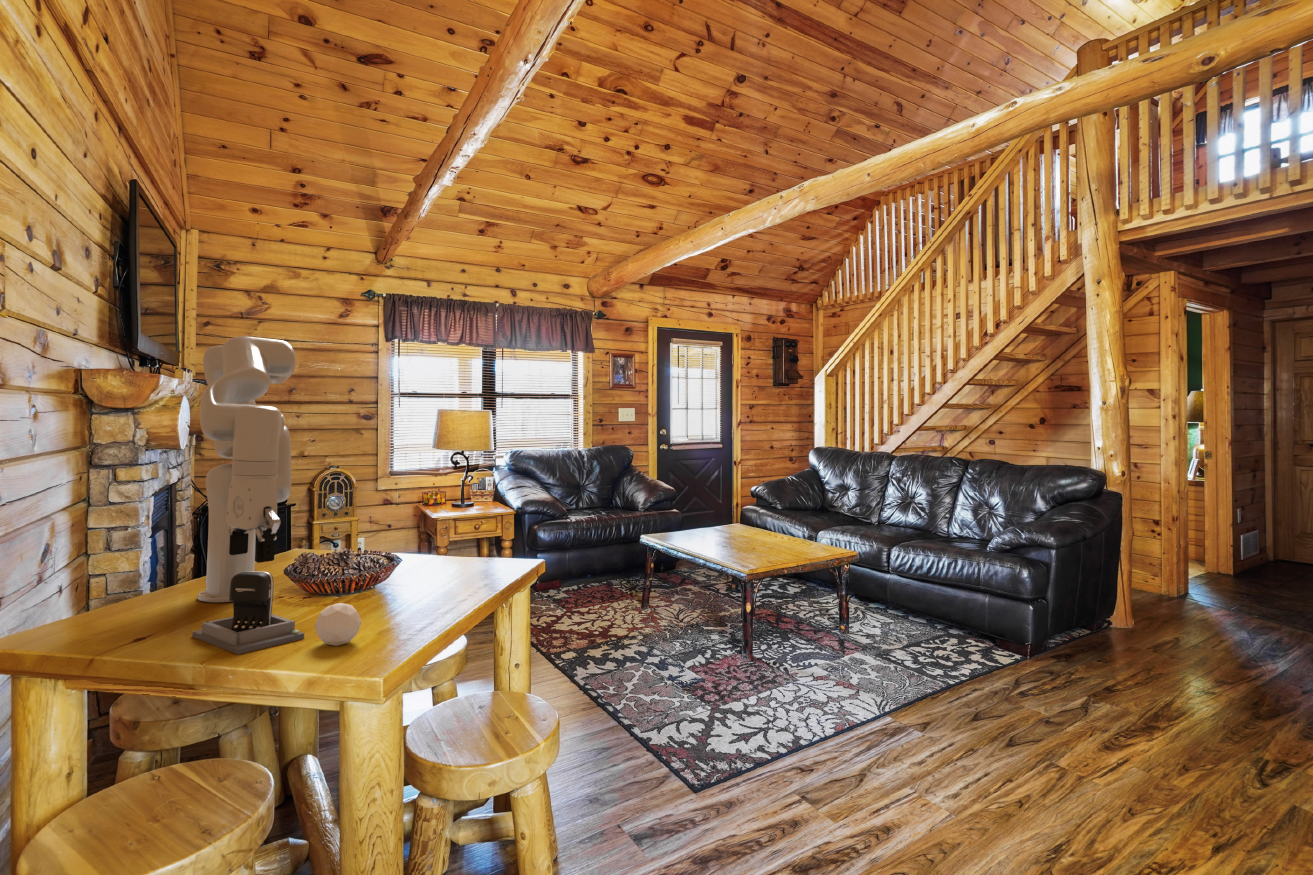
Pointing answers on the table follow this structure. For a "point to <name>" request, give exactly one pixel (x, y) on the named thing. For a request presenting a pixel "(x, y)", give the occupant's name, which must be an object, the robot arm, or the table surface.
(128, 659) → the table surface
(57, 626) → the table surface
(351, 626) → the geometric ball
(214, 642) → the charging dock
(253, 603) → the battery charger
